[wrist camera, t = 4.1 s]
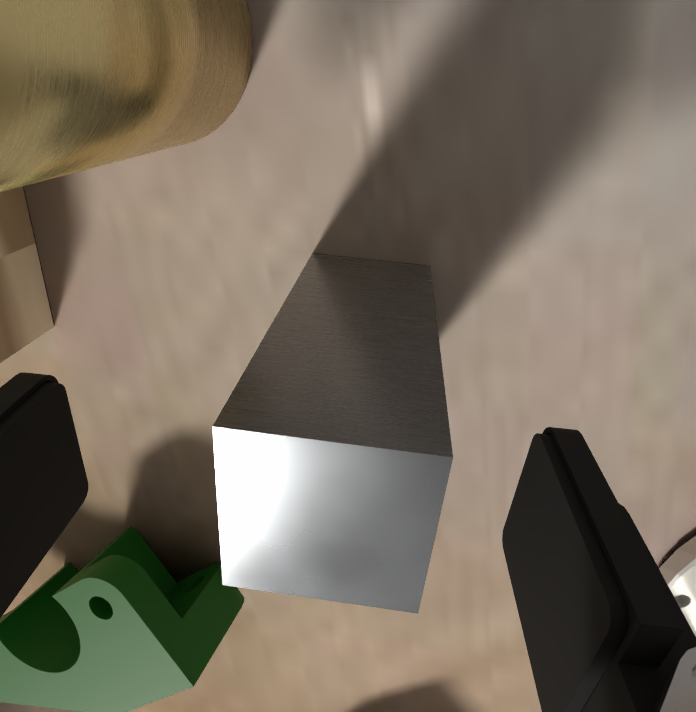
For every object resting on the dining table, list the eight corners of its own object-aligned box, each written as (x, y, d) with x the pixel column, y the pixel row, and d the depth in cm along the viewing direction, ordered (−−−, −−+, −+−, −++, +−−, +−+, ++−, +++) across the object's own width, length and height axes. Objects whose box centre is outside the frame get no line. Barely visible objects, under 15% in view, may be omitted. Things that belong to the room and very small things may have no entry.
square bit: (429, 265, 17) (452, 457, 8) (413, 368, 19) (418, 613, 10) (312, 253, 17) (211, 426, 8) (308, 356, 19) (222, 584, 10)
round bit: (251, -95, 13) (-73, -464, 4) (253, 154, 16) (64, 238, 7) (28, -110, 13) (-698, -482, 5) (70, 135, 16) (-327, 195, 7)
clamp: (192, 473, 29) (140, 541, 20) (253, 557, 29) (230, 660, 20) (12, 597, 28) (-126, 725, 19) (78, 679, 29) (-27, 841, 20)
